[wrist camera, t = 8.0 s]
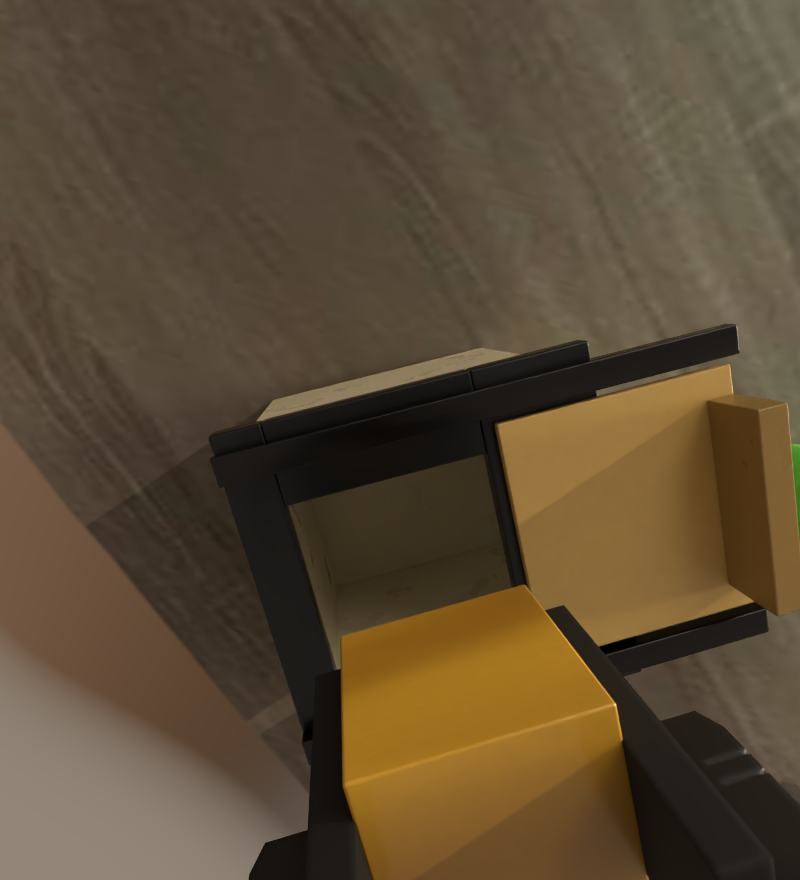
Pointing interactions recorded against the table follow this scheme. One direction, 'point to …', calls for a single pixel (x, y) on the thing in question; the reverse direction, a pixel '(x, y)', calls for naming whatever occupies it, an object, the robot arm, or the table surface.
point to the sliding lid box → (418, 497)
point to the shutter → (655, 504)
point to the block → (483, 749)
